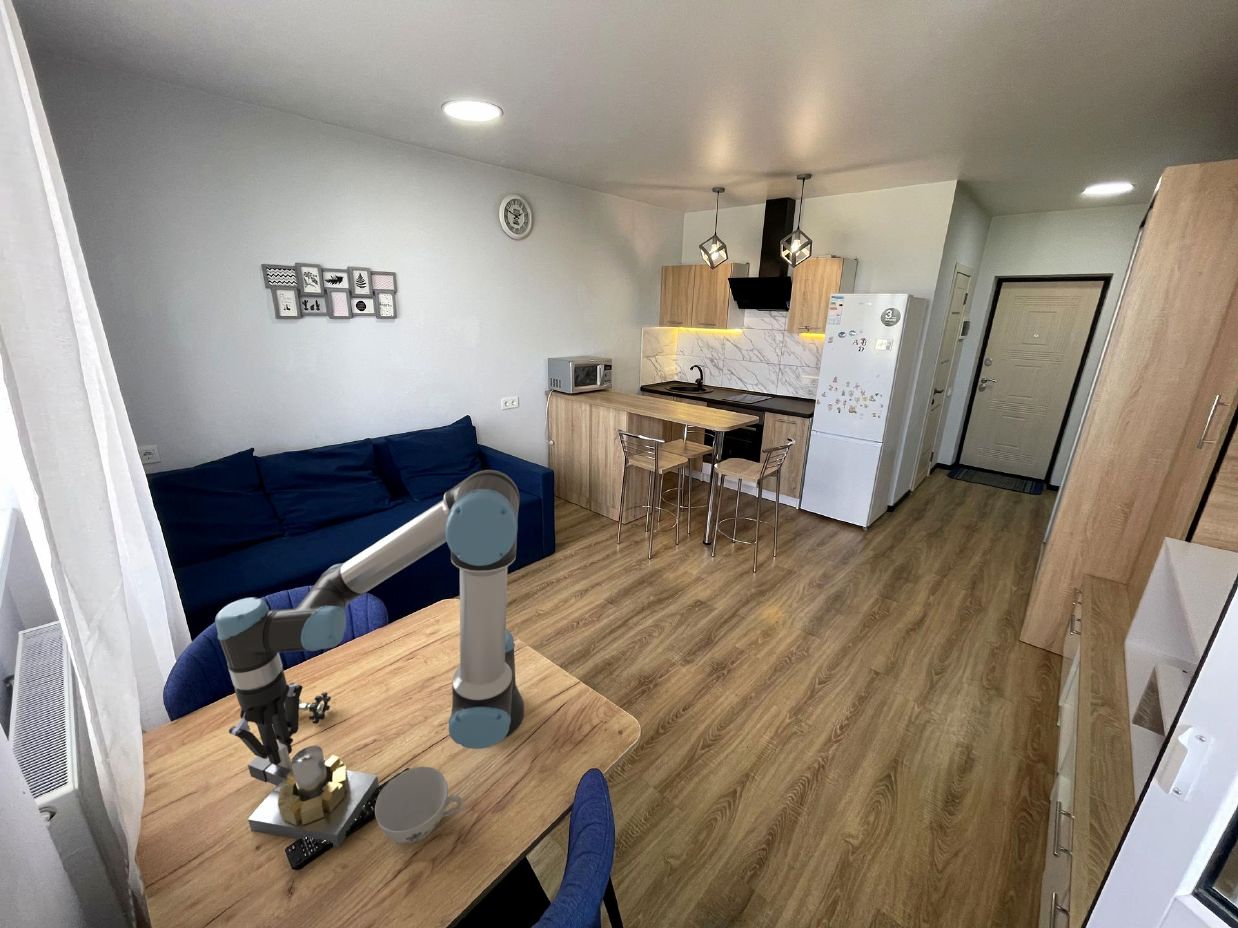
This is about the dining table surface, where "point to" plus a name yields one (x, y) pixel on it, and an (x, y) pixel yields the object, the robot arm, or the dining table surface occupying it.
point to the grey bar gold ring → (288, 798)
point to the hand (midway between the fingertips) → (285, 769)
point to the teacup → (413, 804)
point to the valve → (316, 707)
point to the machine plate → (320, 825)
